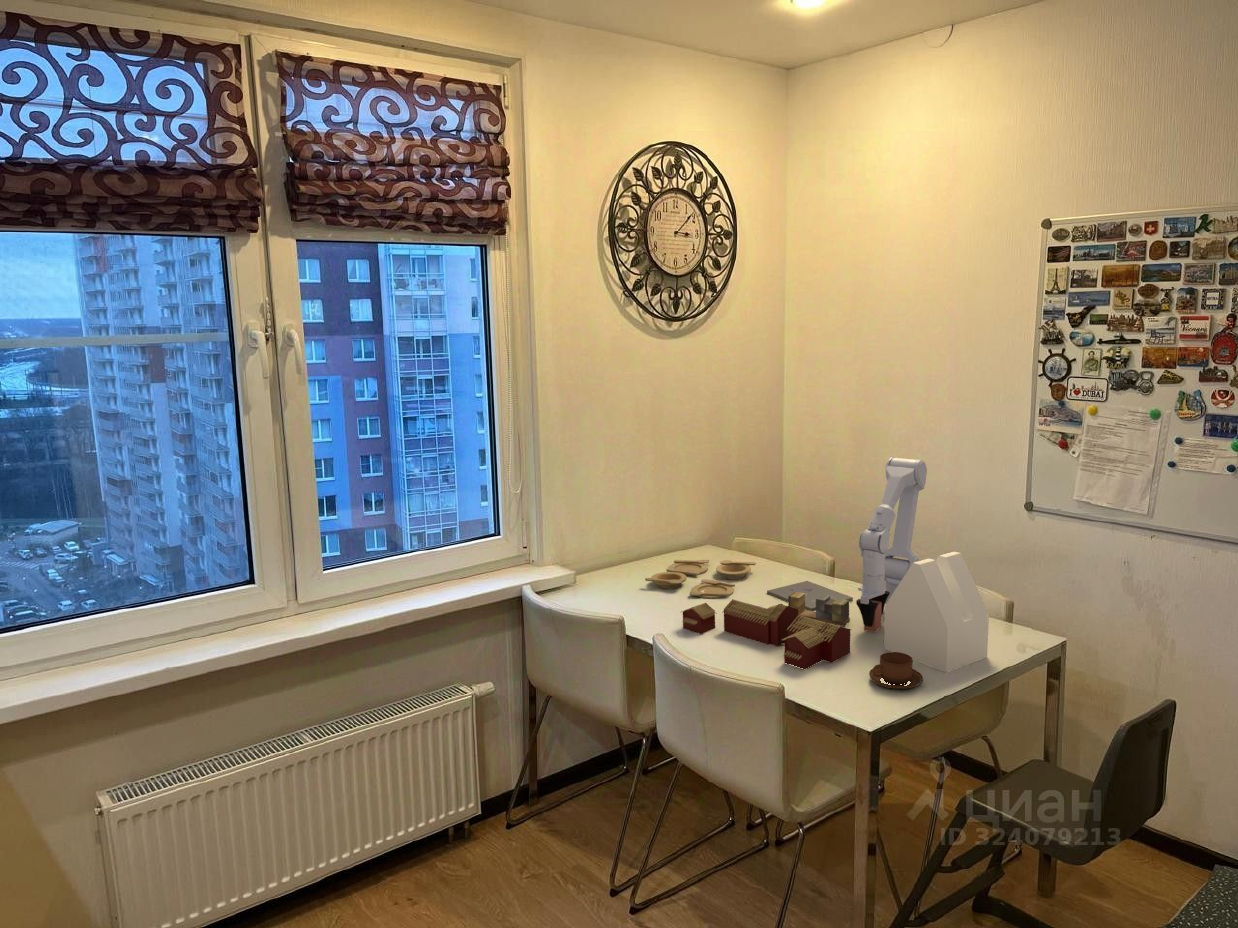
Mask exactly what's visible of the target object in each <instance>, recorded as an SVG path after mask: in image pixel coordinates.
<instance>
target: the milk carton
mask: <svg viewBox="0 0 1238 928" xmlns="http://www.w3.org/2000/svg"><path fill="white" fill-rule="evenodd" d="M884 607H885V613H884V630H883V631H884V633H883V634H884V635H883V636H884V637H883V639H884V640H883V648H884V649H885V650H888V651H889V652H900V653H904V654H907V655H909V656H911V657H912V659H913V660H914V661H915V662H918V663H921V664H923V665H925V666H928V667H931V668H933V669H937V670H939V671H941V672H944V673H946V674H947V673H949V672H952V671H955V670H958V669H960V668H964V667H966V666H968V665H971V664H973V663H976V662H979V661H981V660H984V659H987V658H988V648H989V647H988V645H989V644H988V643H989V620H990V619H989V618H990V616H989V615H990V613H989V611H988V608H987V607H986V605H985V601H983V598H982V595H981V594H980V592H979V589H978V587H977V585H976V583H975V581H974V579H973V577H972V574H971V571H970V570H969V568H968V566H967V563H966V562H965V559H964V557H963V555H962V553H961V552H957V551H952V552H948V553H944V554H941V555H940V554H939V556H937V558H936V559H933V558H925V559H922V560H919V561H918V562H914V563H913V564H912V565H911V567H910V568H909V570H908V571H907V573H906V574H905V576H904V577H903V579H902V580H901V582H900V584H899V585H898V587H897V588H896V590H895V591H894V593H893V594H892V596H891V597H890V599H889V600H888V602H887V603H886V605H885V606H884Z"/></svg>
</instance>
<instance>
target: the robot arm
mask: <svg viewBox="0 0 1238 928" xmlns="http://www.w3.org/2000/svg"><path fill="white" fill-rule="evenodd" d="M927 475H928V469H927V464H926V461H925V460H924V459H912V458H911V459H910V458H904V457H903V458H901V457H900V458H899V457H894V456H891V457H889V458H888V460H887V461H886V464H885V478H886V486H885V489H884V492H883V496H882V499H881V502H880V505H878V506H876V507H874V510H873V513H872V515H871V517H870V520H869V522H868V525H867V527H866V529H865V530H863V531H861V532H860V535H859V539H858V547H859V549H860V556H861V558H862V585H861V586H858V587H857V590H858V591H860V592H861V596H860V598H858V599H857V600H856V602H855V603H856V606H857V607H858V609H859V612H860V614H861V618H862V622H863V623H862V624H863V627H864V626H869V627H872V625H873V621H874V615H875V611H876V608H877V606H878V604H879V603H873V601H879V602H882V610H881V618H882V616H883V614H885V605H886V603H887V602H888V600H889V599H890V597H891V596H892V594H893V593H894V591H895V590H896V588H897V587H898V585H899V584H900V582H901V580H902V579H903V577H904V576H905V574H906V573H907V571H908V570H909V568H910V567H911V565H912V564H913V563H914V562H918V561H920V557H919V556H918V554H917V553H916V552H915V551H913V549H912V541H913V534H914V533H913V532H914V527H915V520H916V514H917V505H918V500H919V493H920V491H922V490H924V489H925V485H926V480H927ZM897 504H898V506H897V513H896V511H894V510H895V507H896V505H897ZM895 518H896V520H895ZM894 521H895V527H894V533H893V539H892V540H893V541H892V546H891V547H890V539H891V532H890V531H891V528H892V526H893V524H894ZM897 557H898V558H897ZM902 558H904V559H902Z"/></svg>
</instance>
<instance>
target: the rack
mask: <svg viewBox="0 0 1238 928" xmlns="http://www.w3.org/2000/svg"><path fill="white" fill-rule="evenodd" d="M787 604H788V605H787V606H789V607H792V608H796V609H799V610H798V615H800V616H804V617H807V618H811V619H815V620H819V621H823V622H826V623H830V624H833V625H837V626H841V627H845V626H846V625H847V624H848V623H849V622H850V621H851V617H850V602H849V600H844V599H837V600H833V599H830V596H829V595H823V594H822V595H820V596H819V597H818V598H816V611H808V610H806V609H805V593H800V592H794V593H792V594H791V595H789V596H788V602H787Z"/></svg>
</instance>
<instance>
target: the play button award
mask: <svg viewBox="0 0 1238 928" xmlns="http://www.w3.org/2000/svg"><path fill="white" fill-rule="evenodd" d="M794 592H800V593H805V610H808V611H814V612H816V598H818V597H819V596H820V595H822V594H823V595H829V596H830V599H833V600H837V599H844V600H849V603H850V602H853V601H854V598H853V597H852V596H850V595H847V594H844V593H842V592H839V591H837V590H834V589H831V588H828V587H825V586H823V585H819V584H817V583H815V582H811V581H809V580H805V581H801V582H798V583H793V584H789V585H785V586H781V587H776V588H772V589H768V590H767V591H766V593H767V595H770V596H771V597H774V598H777V599H780V600H781V601H784V602H787V603H788V596H789V595H791V594H792V593H794Z"/></svg>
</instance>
